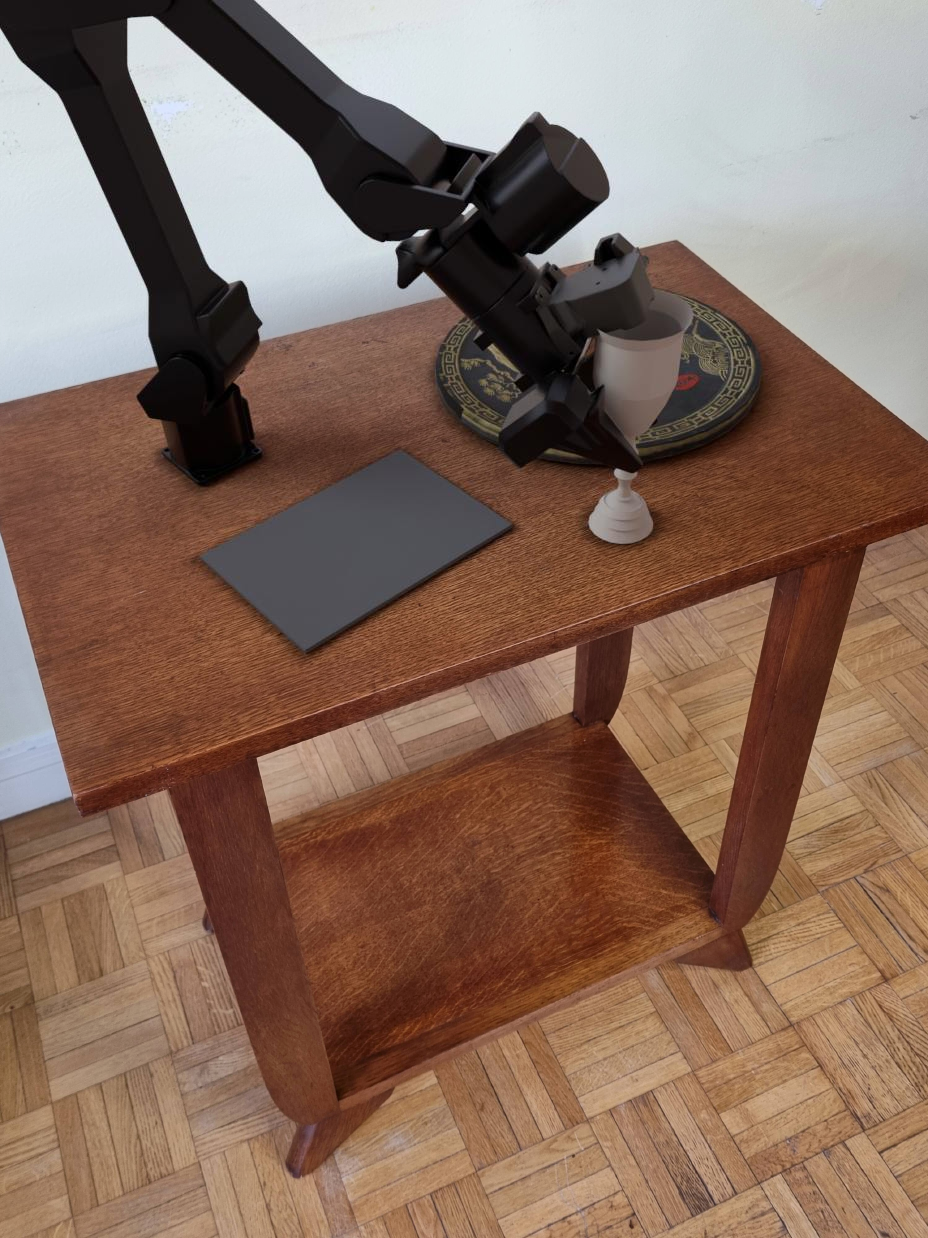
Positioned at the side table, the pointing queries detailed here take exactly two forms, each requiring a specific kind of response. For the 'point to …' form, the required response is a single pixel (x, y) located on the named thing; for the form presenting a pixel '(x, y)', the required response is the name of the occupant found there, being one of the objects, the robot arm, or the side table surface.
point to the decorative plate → (693, 416)
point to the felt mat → (353, 548)
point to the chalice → (637, 401)
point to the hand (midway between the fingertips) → (646, 446)
